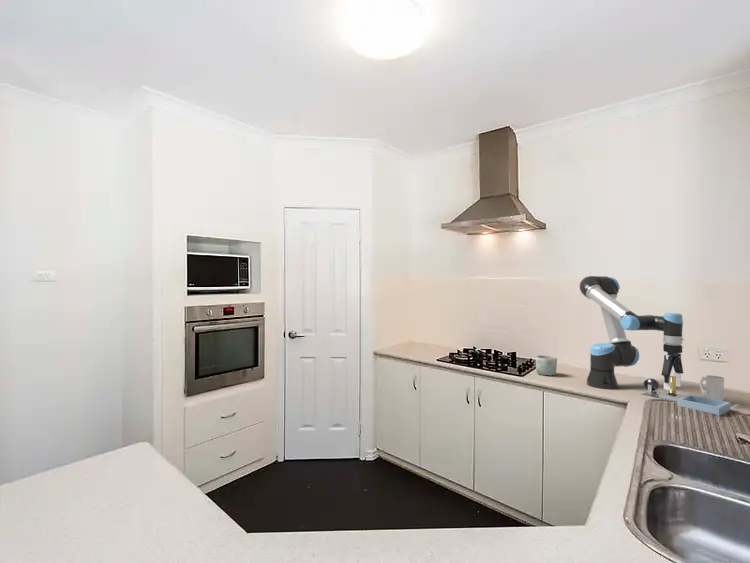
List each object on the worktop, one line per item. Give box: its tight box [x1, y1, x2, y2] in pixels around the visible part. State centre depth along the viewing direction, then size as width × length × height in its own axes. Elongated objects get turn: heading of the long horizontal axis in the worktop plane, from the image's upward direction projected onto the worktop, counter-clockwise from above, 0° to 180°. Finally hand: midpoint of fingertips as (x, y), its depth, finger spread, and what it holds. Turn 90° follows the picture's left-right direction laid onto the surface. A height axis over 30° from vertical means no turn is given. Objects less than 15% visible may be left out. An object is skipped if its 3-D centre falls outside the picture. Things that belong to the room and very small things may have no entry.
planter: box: [535, 355, 558, 377], centre depth 246 cm, size 12×12×11 cm
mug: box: [699, 374, 725, 401], centre depth 195 cm, size 10×7×12 cm, turn 19°
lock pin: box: [668, 375, 677, 396], centre depth 194 cm, size 3×3×11 cm
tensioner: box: [640, 378, 687, 403], centre depth 197 cm, size 17×10×8 cm, turn 34°
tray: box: [676, 394, 731, 417], centre depth 180 cm, size 15×15×4 cm
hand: (672, 387), depth 194 cm, fingers open, 12 cm apart
